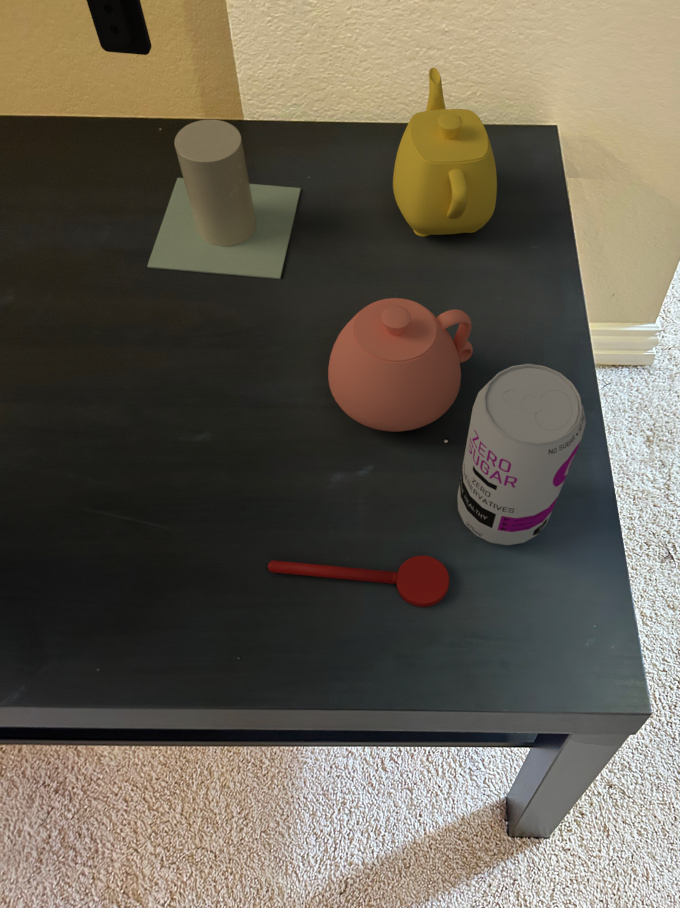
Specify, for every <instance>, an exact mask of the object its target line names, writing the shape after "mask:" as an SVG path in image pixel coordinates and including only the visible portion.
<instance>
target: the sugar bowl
mask: <svg viewBox="0 0 680 908" xmlns="http://www.w3.org/2000/svg"><path fill="white" fill-rule="evenodd" d="M457 324H459V325H458V328H457V330H456V332H455V334H454V337H453V338H452V336H451V334H450V333H449V331H448V328H450V327H451V326H454V325H457ZM472 326H473V325H472V320H471V317H470V316H469V315H468V313H466V312H465V311H463V310H461V309H449V310H446V311H444V312H442V313H440V314H439V315H437V316H436V315H434V313H433V312H431V311H430V310H429V309H428V308H426V307H425V306H423V304H420V303H419V302H417V301H414V300H410V299H407V298H400V297H390V298H383V299H380V300H377V301H373V302H371V303H370V304H368V305H366V306H364V307H363V308H362V309H361V310H359V311H357V313H356V314H355V315H353V316H352V318H351V319H350V320H349V321H348V322H347V323H346V324H345V326H344V327H343V328H342V330H341V331H340V332H339V334H338V335H337V337H336V340H335V342H334V344H333V346H332V349H331V352H330V356H329V363H328V367H327V368H328V369H327V372H328V373H327V376H328V385H329V389H330V393H331V395H332V397H333V399H334V401H335V403H337V405H338V407H340V409H341V410H342V411H343V413H345V414H346V415H347V416H348V417H350V418H351V419H352V420H353V421H356V422H357V423H359V424H361V425H363V426H365V427H368V428H370V429H373V430H376V431H377V430H378V431H383V432H393V433H394V432H396V433H397V432H406V431H412V430H417V429H420V428H423V427H425V426H427V425H429V424H432V423H433V422H435V421H437V420H438V419H440V418H441V417H442V416H443V415H445V414H446V412H447V411H448V410H450V407H452V405H453V404H454V402H455V400H456V399H457V397H458V395H459V392H460V388H461V381H462V380H461V379H462V371H461V370H462V369H461V364H463V363H465V362H466V361H468V360H469V359H471V357H472V355H473V353H474V348H473V345H472V343H471V342H470V341H468V340H469V338H470V334H471V332H472Z"/></svg>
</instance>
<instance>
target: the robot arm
mask: <svg viewBox="0 0 680 908" xmlns="http://www.w3.org/2000/svg"><path fill="white" fill-rule="evenodd" d="M86 3H87V7H88V11H89V14H90V17H91V20H92V22H93V27H94V29H95V32H96V35H97V38H98V42H99V45H100V48H102V50H103V51H105V52H107V53H117V54H130V55H142V56H147V55H149V54H150V53H151V50H152V41H151V38H150V33H149V31H148V27H147V23H146V22H147V21H146V18H145V14H144V10H143V7H142V2H141V0H86Z"/></svg>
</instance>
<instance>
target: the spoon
mask: <svg viewBox="0 0 680 908" xmlns="http://www.w3.org/2000/svg"><path fill="white" fill-rule="evenodd" d="M267 569H268V571H269V572H271V573H274V574H283V575H284V574H285V575H296V576H298V575H299V576H306V577H315V578H327V579H338V580H339V579H340V580H350V581H358V582H369V583H370V582H371V583H380V584H391V585H394V584H396V588H397V592H398V594H399V595H400V597H401V598H402V599H403V600H404V601H405V602H406V603H408V604H410V605H412V606H415V607H420V608H426V607H431V606H434V605H436V604H439V602H441V601H442V600H443V599H444V598H445V597H446V595H447V593H448V591H449V588H450V587H449V586H450V574H449V572H448V570H447V568H446V566H445V565H444V564H443V563H442V562H441V561H440V560H439V559H437V558H435V557H433V556H429V555H416V556H412V557H410V558H408V559H407V560H405V561H404V562H403V563H402V564H401V565H400V567H399V568H398V569H397V570H398V571H397V572H396V571H390V570H379V569H369V568H368V569H367V568H359V567H348V566H338V565H327V564H315V563H304V562H295V561H285V560H284V561H283V560H271V561H269V562H268V563H267Z"/></svg>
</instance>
